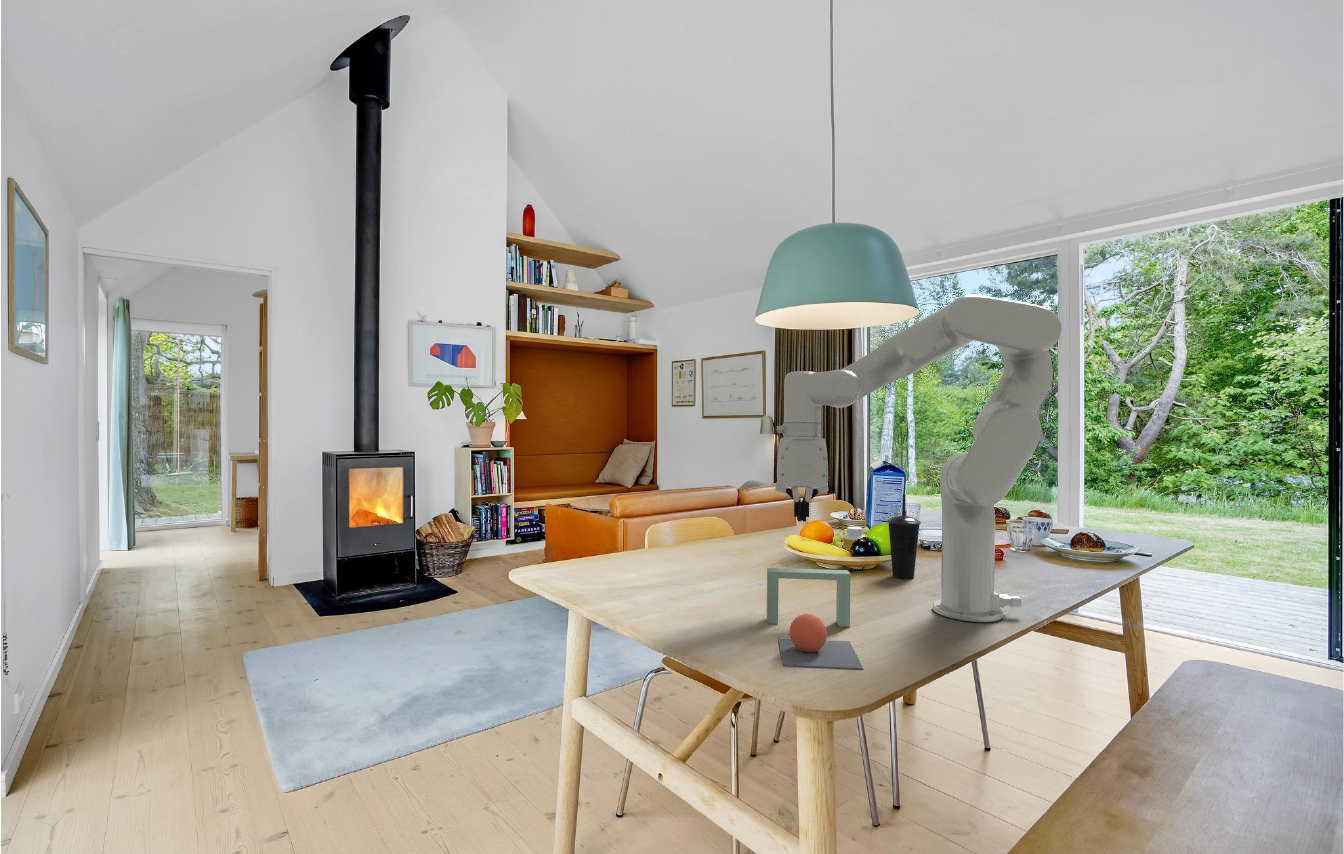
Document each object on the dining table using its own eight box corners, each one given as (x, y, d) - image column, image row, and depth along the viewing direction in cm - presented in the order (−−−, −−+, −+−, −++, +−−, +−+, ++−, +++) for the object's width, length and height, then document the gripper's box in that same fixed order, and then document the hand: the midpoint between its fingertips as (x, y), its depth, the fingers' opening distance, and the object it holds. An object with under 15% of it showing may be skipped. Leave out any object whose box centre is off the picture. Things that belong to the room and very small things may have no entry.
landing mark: (849, 642, 110) (849, 641, 110) (863, 669, 98) (863, 668, 98) (778, 639, 111) (778, 638, 111) (783, 665, 99) (783, 664, 99)
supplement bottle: (855, 570, 162) (855, 530, 162) (838, 566, 167) (839, 527, 167) (870, 568, 166) (870, 528, 165) (853, 563, 170) (853, 525, 170)
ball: (828, 641, 101) (824, 662, 104) (829, 609, 105) (825, 631, 109) (789, 635, 102) (786, 656, 105) (792, 603, 106) (789, 625, 110)
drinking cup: (923, 575, 158) (924, 494, 157) (916, 582, 151) (917, 497, 151) (891, 571, 162) (891, 492, 161) (883, 577, 155) (883, 494, 155)
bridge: (766, 618, 123) (767, 567, 122) (847, 621, 121) (847, 570, 121) (767, 623, 120) (767, 571, 119) (850, 626, 118) (850, 573, 118)
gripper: (766, 431, 130) (765, 522, 130) (842, 432, 128) (841, 524, 129) (764, 431, 137) (764, 517, 138) (836, 431, 136) (835, 518, 136)
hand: (801, 520), depth 133 cm, fingers closed
